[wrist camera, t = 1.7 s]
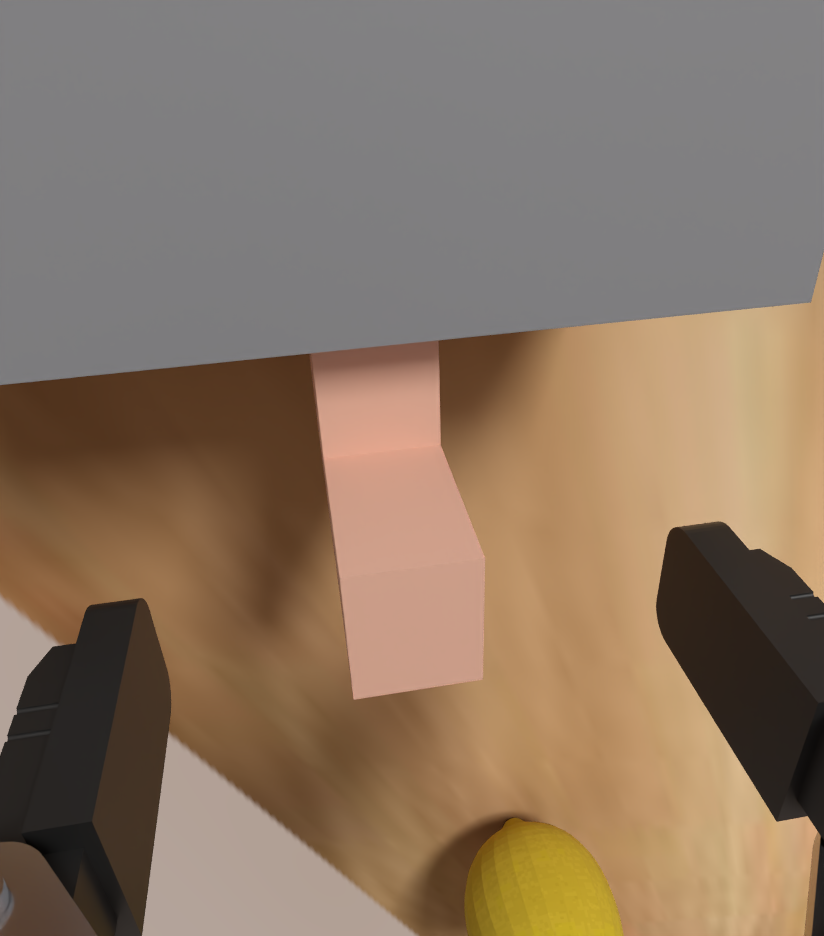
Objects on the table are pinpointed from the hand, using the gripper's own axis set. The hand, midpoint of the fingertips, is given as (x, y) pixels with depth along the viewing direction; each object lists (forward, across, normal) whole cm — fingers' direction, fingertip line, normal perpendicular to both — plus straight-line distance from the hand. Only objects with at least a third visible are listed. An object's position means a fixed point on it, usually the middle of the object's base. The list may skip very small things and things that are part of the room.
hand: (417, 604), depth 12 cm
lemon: (+10, -5, +21) cm, 24 cm away
